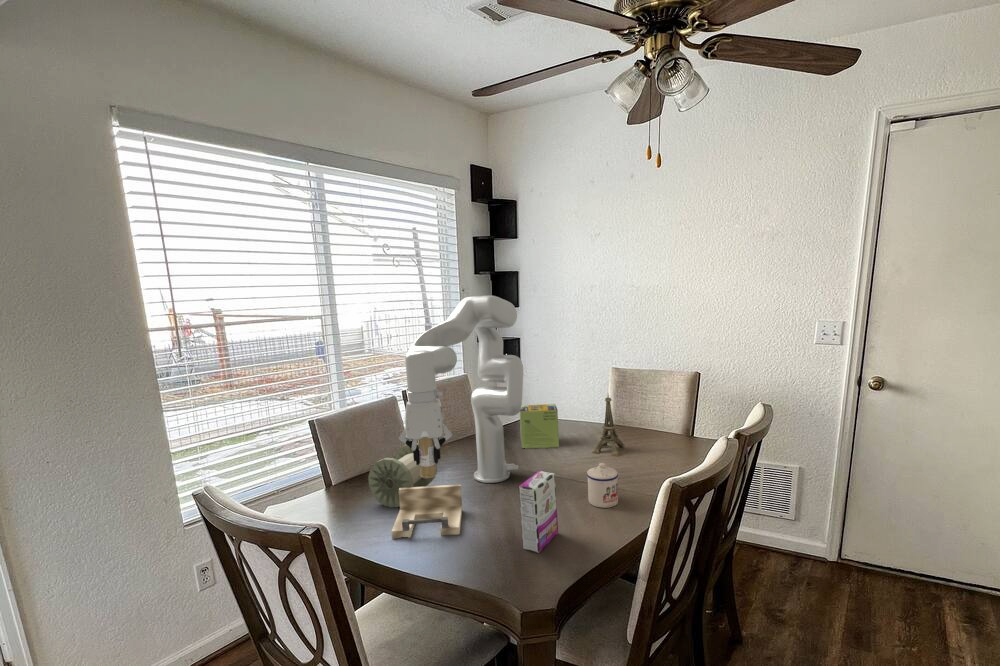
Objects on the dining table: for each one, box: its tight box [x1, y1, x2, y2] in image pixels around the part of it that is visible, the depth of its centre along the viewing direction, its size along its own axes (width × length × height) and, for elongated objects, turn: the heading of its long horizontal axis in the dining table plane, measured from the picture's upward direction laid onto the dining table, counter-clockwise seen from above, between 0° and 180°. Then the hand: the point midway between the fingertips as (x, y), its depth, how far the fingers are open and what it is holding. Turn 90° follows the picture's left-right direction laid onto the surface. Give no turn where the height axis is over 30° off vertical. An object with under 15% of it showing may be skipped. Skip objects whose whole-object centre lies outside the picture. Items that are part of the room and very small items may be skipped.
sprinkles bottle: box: [418, 431, 438, 478], centre depth 131 cm, size 5×5×14 cm
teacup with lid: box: [586, 462, 619, 509], centre depth 144 cm, size 12×9×12 cm
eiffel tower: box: [591, 394, 628, 458], centre depth 187 cm, size 11×11×25 cm
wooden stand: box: [390, 484, 463, 539], centre depth 135 cm, size 18×14×8 cm
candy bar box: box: [518, 470, 559, 554], centre depth 123 cm, size 11×5×16 cm, turn 148°
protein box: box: [519, 403, 560, 449], centre depth 200 cm, size 10×15×16 cm
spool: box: [367, 444, 438, 509], centre depth 155 cm, size 16×15×15 cm
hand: (427, 461), depth 131 cm, fingers closed on sprinkles bottle, 4 cm apart
